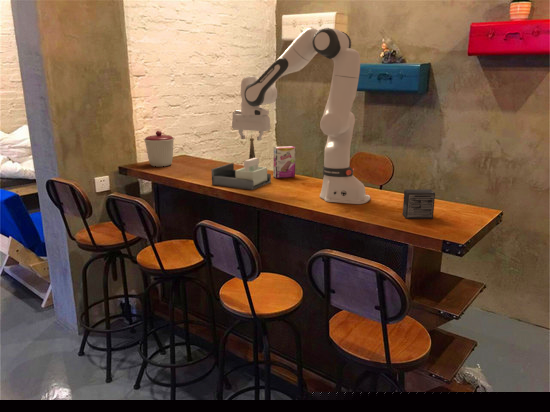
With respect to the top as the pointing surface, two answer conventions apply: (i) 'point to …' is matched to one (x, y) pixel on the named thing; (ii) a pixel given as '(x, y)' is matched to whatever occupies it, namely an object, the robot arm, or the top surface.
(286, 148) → the candy bar box
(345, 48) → the robot arm
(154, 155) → the canister
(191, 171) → the top surface
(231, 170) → the bay
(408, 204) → the small box
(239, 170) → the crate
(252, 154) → the eiffel tower
